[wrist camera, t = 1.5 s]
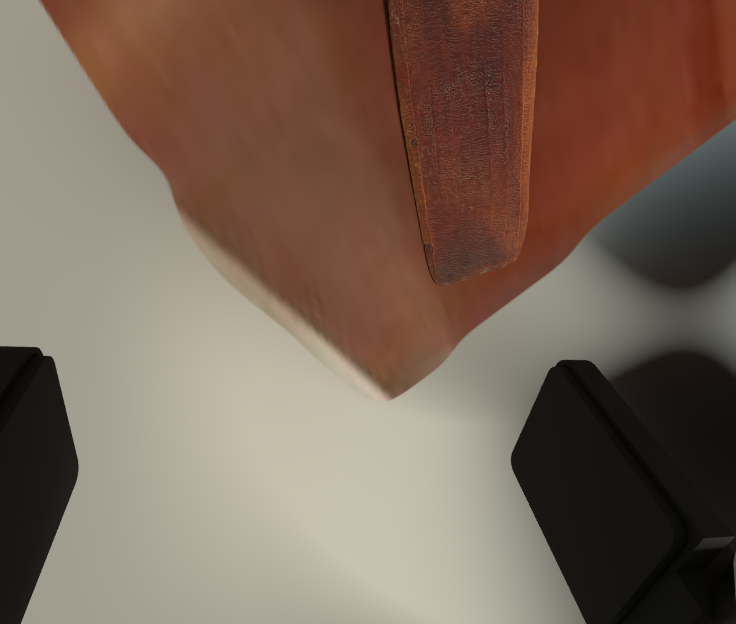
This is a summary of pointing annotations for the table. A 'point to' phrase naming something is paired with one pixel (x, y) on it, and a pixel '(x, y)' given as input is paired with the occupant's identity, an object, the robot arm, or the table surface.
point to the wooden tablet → (467, 126)
